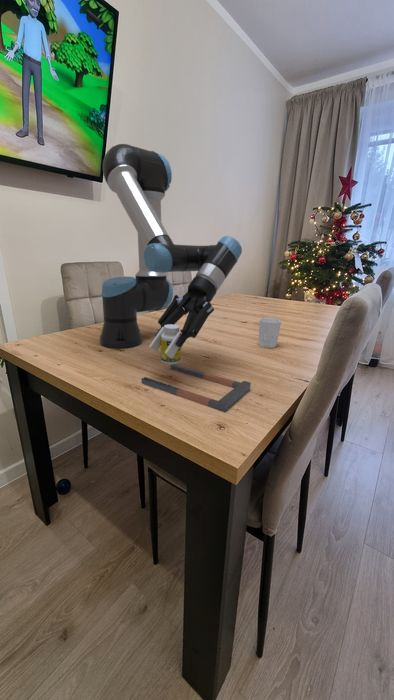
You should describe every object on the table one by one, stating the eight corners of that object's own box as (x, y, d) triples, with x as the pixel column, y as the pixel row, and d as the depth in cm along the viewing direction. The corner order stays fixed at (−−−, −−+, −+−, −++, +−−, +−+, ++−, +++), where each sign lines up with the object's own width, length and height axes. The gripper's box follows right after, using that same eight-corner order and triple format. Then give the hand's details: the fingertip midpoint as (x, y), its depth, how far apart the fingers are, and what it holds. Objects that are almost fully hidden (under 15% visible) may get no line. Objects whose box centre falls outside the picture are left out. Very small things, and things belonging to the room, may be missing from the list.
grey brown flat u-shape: (141, 382, 81) (141, 376, 80) (173, 367, 92) (173, 361, 91) (225, 411, 68) (225, 403, 68) (250, 389, 80) (250, 382, 79)
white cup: (276, 343, 120) (279, 318, 117) (279, 349, 113) (282, 323, 110) (256, 341, 121) (258, 317, 118) (257, 348, 113) (260, 321, 110)
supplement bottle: (164, 366, 79) (165, 329, 76) (157, 358, 84) (157, 324, 80) (183, 363, 82) (185, 328, 78) (175, 356, 86) (176, 322, 83)
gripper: (237, 298, 82) (192, 370, 76) (188, 288, 93) (146, 350, 87) (227, 279, 76) (177, 355, 70) (176, 271, 88) (130, 336, 82)
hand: (160, 352), depth 79 cm, fingers closed on supplement bottle, 5 cm apart
